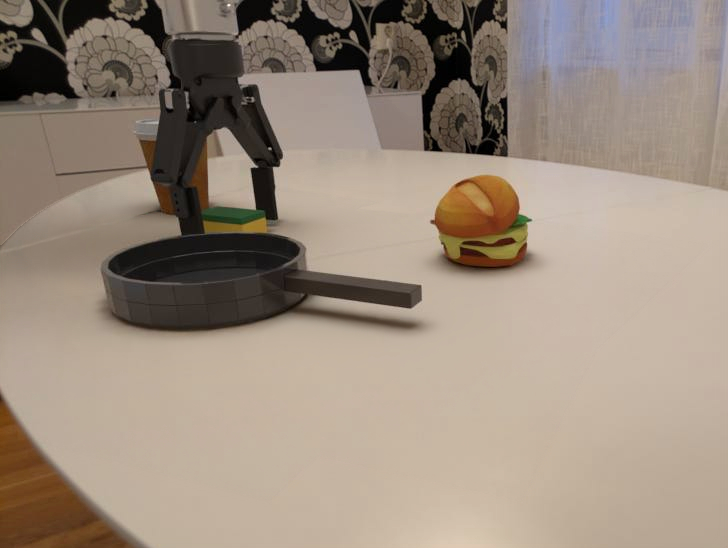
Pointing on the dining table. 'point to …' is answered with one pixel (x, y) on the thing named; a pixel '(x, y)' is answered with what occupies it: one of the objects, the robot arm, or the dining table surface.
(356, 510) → the dining table surface
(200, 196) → the disposable coffee cup
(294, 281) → the pan handle
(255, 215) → the sponge
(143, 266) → the pan
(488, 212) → the cheeseburger
